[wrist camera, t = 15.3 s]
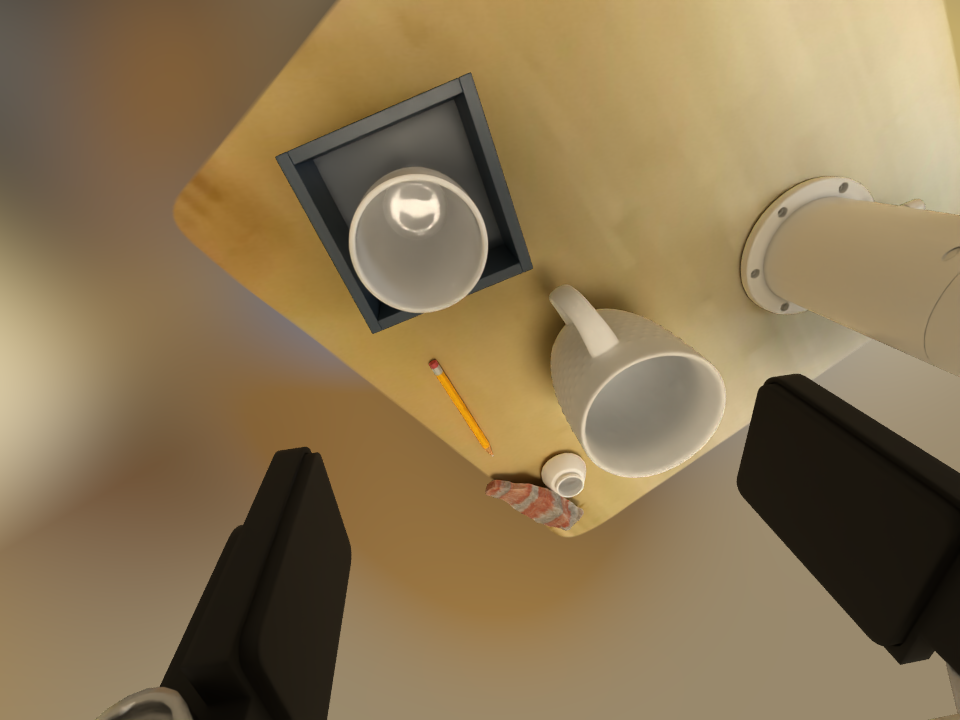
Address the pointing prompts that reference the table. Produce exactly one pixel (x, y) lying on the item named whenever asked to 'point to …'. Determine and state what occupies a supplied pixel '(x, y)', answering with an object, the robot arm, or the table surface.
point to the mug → (631, 388)
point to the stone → (537, 503)
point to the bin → (396, 144)
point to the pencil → (460, 405)
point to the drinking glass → (418, 240)
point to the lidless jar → (564, 474)
